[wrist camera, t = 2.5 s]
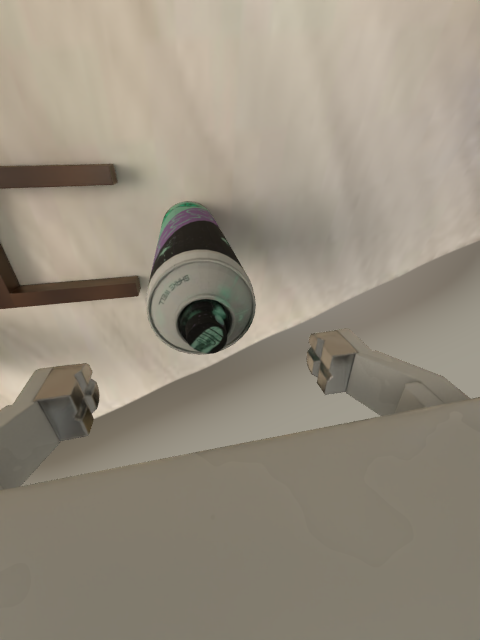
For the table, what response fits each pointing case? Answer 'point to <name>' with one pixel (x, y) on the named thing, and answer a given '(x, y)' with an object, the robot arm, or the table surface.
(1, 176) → the frame
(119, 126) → the table surface
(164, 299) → the spray can
